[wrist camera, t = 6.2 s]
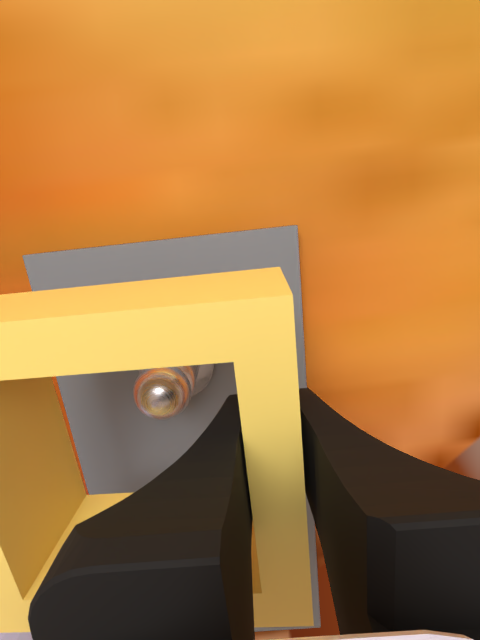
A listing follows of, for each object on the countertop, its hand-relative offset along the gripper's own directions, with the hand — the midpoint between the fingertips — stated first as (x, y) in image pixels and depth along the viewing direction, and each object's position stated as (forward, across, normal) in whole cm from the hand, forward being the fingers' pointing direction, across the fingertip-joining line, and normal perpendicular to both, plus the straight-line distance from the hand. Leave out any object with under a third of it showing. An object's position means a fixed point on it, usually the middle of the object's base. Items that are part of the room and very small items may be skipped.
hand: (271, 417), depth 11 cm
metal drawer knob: (+6, +4, 0) cm, 7 cm away
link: (+1, +4, 0) cm, 4 cm away
